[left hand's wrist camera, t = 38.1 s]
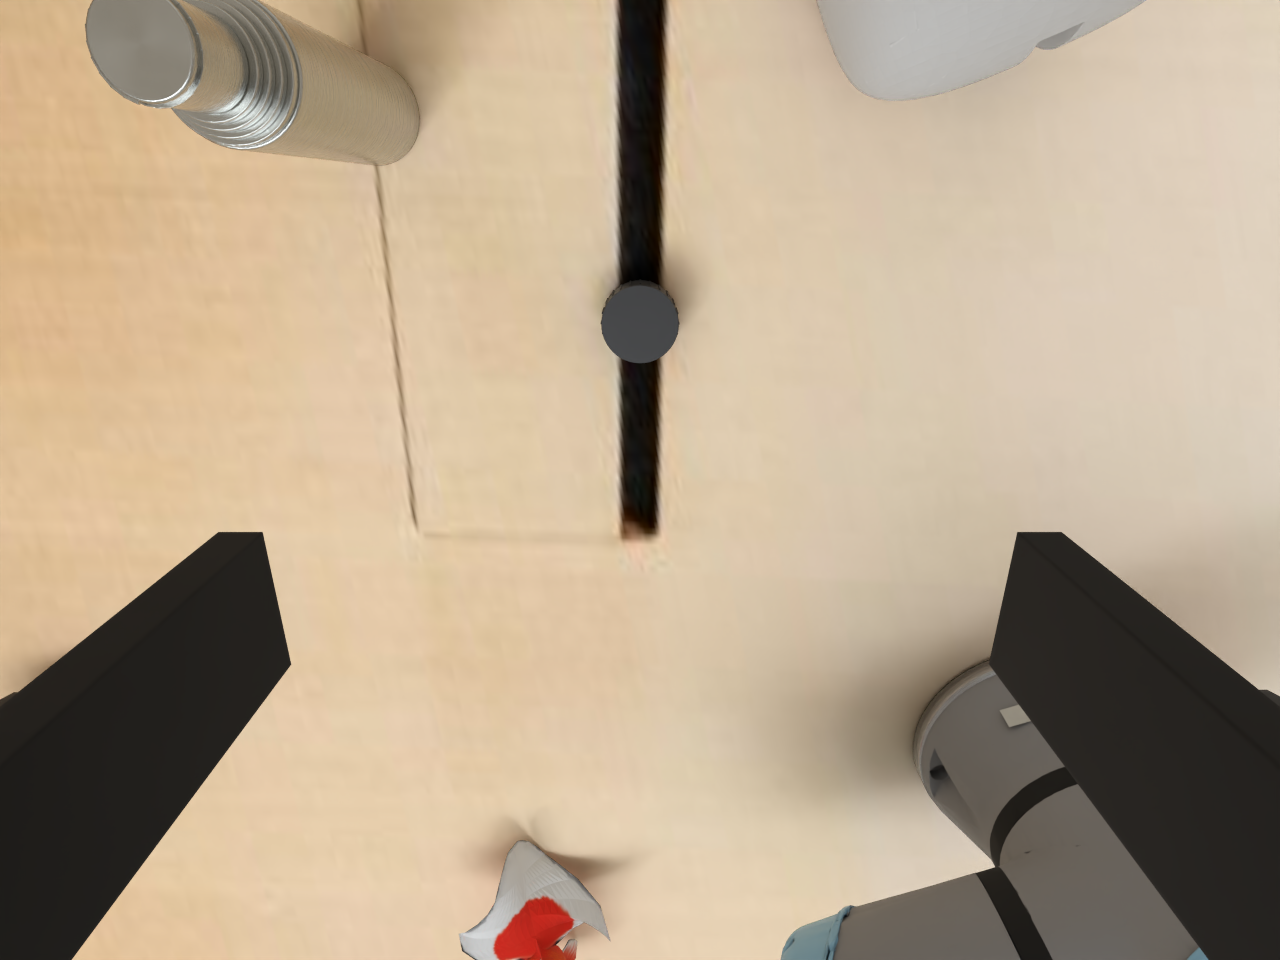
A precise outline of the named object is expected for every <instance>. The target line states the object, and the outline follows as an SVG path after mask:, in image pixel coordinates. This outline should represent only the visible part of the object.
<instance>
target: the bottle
mask: <svg viewBox="0 0 1280 960" xmlns="http://www.w3.org/2000/svg"><path fill="white" fill-rule="evenodd" d="M85 29H86V39H87V40H86V42H87V45H88V48H89V51H90V54H91V59H92V60H93V62H94V64H95V66H96V67H97V69H98V71H99V73H100V75H101V76H102V77H103V78H104V79H105V80H106V82H107V83H108V84H109V85H110V87H111V88H113V89H114V90H115V91H116V92H118V93H119V94H120V95H122V96H123V97H124V98H126V99H128V100H130V101H132V102H134V103H136V104H139V105H140V103H141V104H143V105H145V106H149V107H154V108H159V109H164V108H172V110H173V111H174V113H175V114H176V115H177V116H178V117H179V118H180V119H181V120H182V121H183V122H184V123H185V124H186V125H187V126H188V127H189V128H191V129H192V130H193V131H195V132H196V133H198V134H199V135H201V136H203V137H204V138H206V139H208V140H209V141H211V142H213V143H215V144H218V145H220V146H223V147H226V148H230V149H236V150H244V151H252V152H261V153H270V154H279V155H288V156H297V157H306V158H314V159H323V160H332V161H341V162H350V163H359V164H368V165H387V164H391V163H393V162H396V161H398V160H399V159H401V158H402V157H403V156H405V155H406V154H407V153H408V151H409V150H410V149H411V147H412V146H413V144H414V142H415V140H416V137H417V134H418V129H419V110H418V106H417V102H416V99H415V96H414V94H413V92H412V90H411V89H410V87H409V85H408V84H407V83H406V81H405V80H404V79H403V78H402V77H401V76H400V75H399V74H398V73H397V72H396V71H394V70H393V69H392V68H390V67H388V66H387V65H385V64H383V63H381V62H379V61H377V60H375V59H373V58H371V57H369V56H367V55H365V54H363V53H361V52H359V51H357V50H355V49H353V48H351V47H349V46H348V45H346V44H344V43H342V42H340V41H338V40H336V39H334V38H332V37H330V36H328V35H326V34H324V33H322V32H320V31H318V30H316V29H314V28H312V27H310V26H308V25H307V24H305V23H303V22H301V21H299V20H297V19H295V18H293V17H291V16H289V15H287V14H285V13H283V12H281V11H279V10H277V9H275V8H273V7H271V6H269V5H267V4H266V3H264V2H262V1H260V0H93V1H92V3H91V5H90V7H89V9H88V13H87V18H86V24H85Z"/></svg>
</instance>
